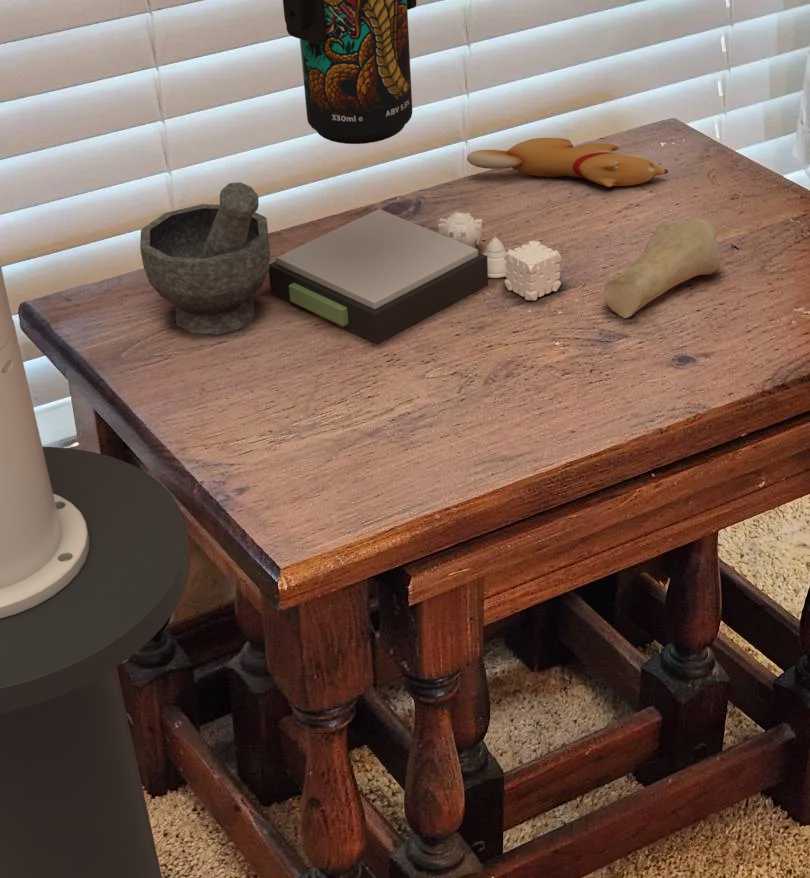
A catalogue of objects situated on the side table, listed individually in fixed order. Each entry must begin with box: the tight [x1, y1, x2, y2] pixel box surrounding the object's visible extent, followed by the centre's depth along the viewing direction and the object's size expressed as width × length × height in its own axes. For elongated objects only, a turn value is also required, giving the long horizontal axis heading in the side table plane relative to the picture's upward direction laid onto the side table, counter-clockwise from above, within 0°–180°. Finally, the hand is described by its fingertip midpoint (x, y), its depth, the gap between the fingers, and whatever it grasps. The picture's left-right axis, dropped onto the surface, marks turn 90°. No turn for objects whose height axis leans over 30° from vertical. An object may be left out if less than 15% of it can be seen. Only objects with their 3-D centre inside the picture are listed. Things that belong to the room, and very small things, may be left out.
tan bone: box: [602, 217, 724, 319], centre depth 117 cm, size 11×6×5 cm, turn 150°
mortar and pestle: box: [139, 181, 271, 336], centre depth 115 cm, size 11×9×12 cm
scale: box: [268, 208, 489, 345], centre depth 120 cm, size 12×12×3 cm
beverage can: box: [299, 0, 413, 145], centre depth 100 cm, size 7×7×12 cm
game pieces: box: [437, 212, 562, 301], centre depth 121 cm, size 12×3×3 cm, turn 37°
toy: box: [466, 137, 669, 188], centre depth 134 cm, size 3×17×5 cm
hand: (352, 19), depth 100 cm, fingers closed on beverage can, 7 cm apart
